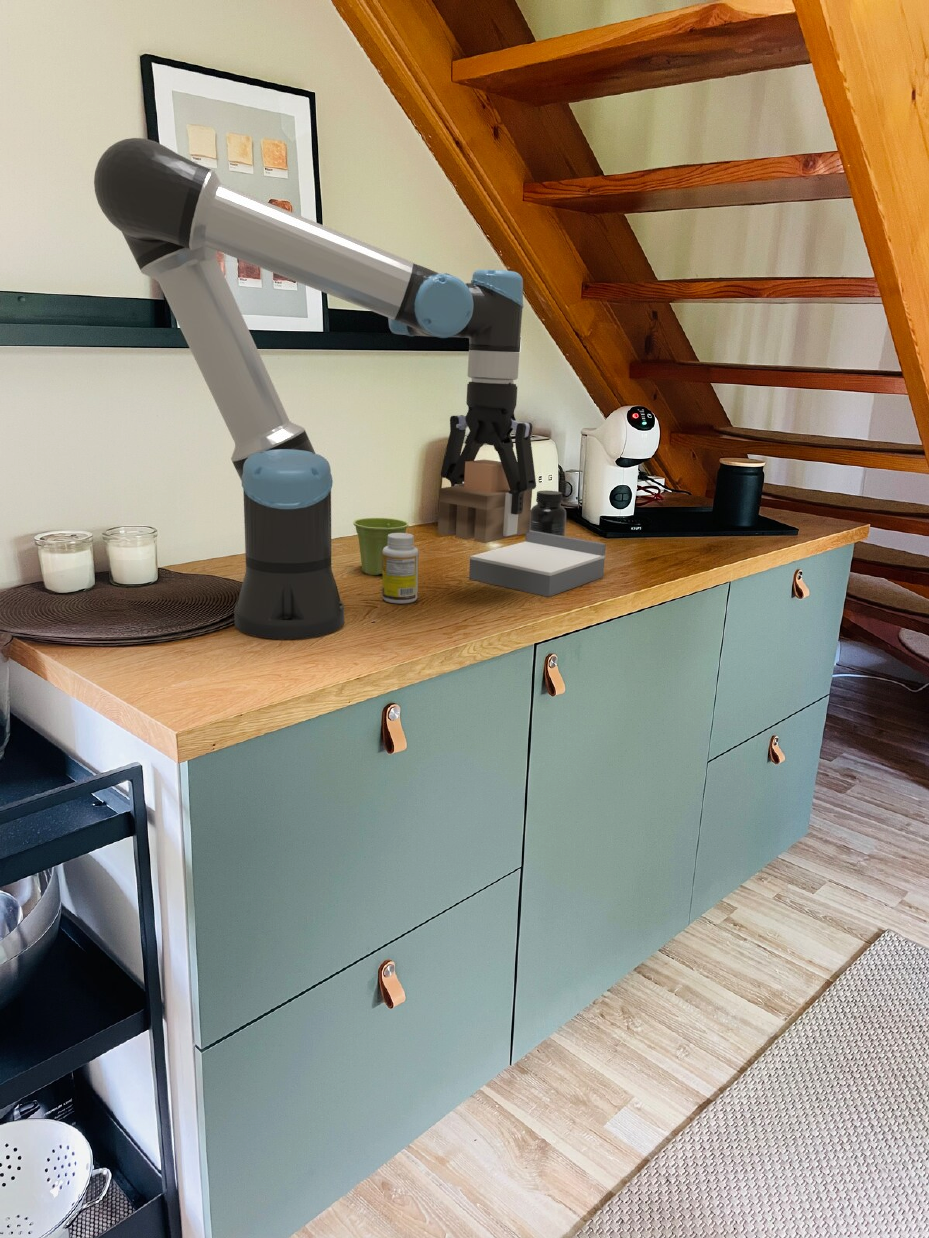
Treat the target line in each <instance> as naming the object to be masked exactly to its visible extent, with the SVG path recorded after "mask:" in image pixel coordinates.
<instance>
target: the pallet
mask: <svg viewBox="0 0 929 1238" xmlns="http://www.w3.org/2000/svg"><path fill="white" fill-rule="evenodd" d="M508 491H510V488H509V489H507V490H501V491H495V492H486V491H480V490H474V489H468V488H464V485H458V486H452V487H451V486H444V487H440V488H439V493H438V494H439V495H438V496H439V498H438V519H437V520H438V523H437V534H438V535H443V536H453V535H455V538H457V539H458V538H459V539H462V540H469V539H470V540H471V539H473V541H474V542H476V543H482V544H488V543H491V542H496V541H500V540H505V539H508V538H513V537H516V536H521V535H526V533H529V529H530V515H531V509H532V499H533V498H532V497H533V489H532V490H528V491H526V492H525V493H524V497H523V511H522V513H521V514H518V526H517V534H514V535H510V536H504V535H503V528H504V512H505V496H506V493H508Z"/></svg>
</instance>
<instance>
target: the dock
mask: <svg viewBox="0 0 929 1238" xmlns="http://www.w3.org/2000/svg"><path fill="white" fill-rule="evenodd" d="M606 547H607V544H606V543H603V542H599V541H598V542H597V541H592V540H588V539H582V538H576V537H570V536H566V535H565V536H560V535H554V534H549V533H543V532H537V531H532V530H529V533H526V534H525V541H522V542H521V541H520V542H518V543H515V544H510V545H506V546H504V547H503V546H502V547H500V548H499V547H498V548H494V549H493V550H488V551H484V552H481V553H476V554H474V555H469V569H468V571H469V573H468V575H469V576H468V579H469V580H472V581H477V582H480V583H485V584H490V585H494V586H498V587H504V588H506V589H507V588H508V589H511V590H515V591H516V590H517V591H521V592H524V593H528V594H533V595H537V596H538V595H539V596H541V597H545V598H546V597H547V598H550V597H553V596H555V595H558V594H561V593H563V592H566V591H569V590H571V589H574V588H577V587H580V586H583V585H586V584H589V583H591V582H594V581H596V580H599V579H602V578H604V571H605V559H606Z"/></svg>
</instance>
